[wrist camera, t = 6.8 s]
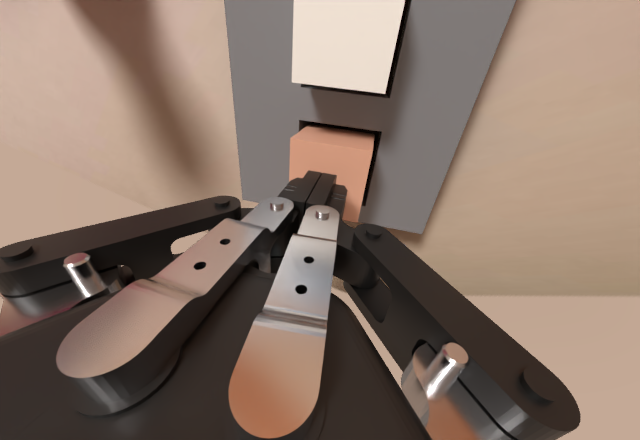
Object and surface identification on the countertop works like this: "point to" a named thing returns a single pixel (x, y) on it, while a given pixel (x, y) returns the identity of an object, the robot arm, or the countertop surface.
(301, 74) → the white key
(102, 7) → the countertop surface
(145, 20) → the countertop surface
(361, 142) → the terracotta key
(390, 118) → the board
